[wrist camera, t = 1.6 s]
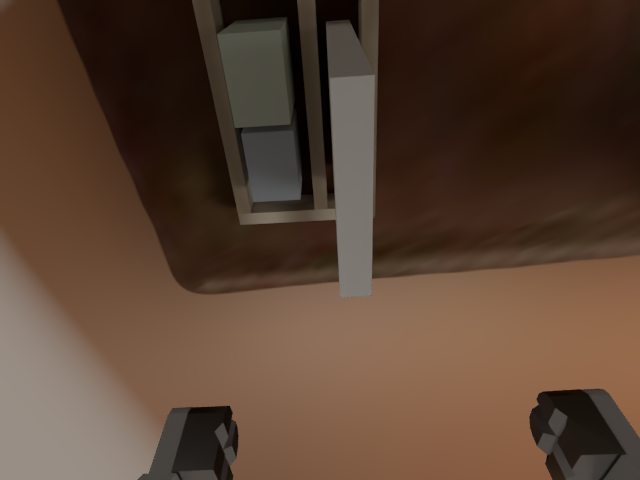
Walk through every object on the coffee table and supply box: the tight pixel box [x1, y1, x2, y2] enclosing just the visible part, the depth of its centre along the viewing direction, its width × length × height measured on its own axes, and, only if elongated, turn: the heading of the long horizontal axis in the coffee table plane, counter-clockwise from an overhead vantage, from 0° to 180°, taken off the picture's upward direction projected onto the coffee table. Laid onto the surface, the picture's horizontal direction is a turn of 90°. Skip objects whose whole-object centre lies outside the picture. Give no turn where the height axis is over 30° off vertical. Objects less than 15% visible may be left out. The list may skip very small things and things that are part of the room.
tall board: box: [326, 20, 375, 297], centre depth 27 cm, size 2×12×18 cm, turn 4°
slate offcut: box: [241, 109, 303, 202], centre depth 34 cm, size 4×6×6 cm, turn 4°
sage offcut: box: [217, 17, 295, 128], centre depth 29 cm, size 4×6×7 cm, turn 4°
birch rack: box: [192, 0, 379, 225], centre depth 33 cm, size 13×20×3 cm, turn 4°
